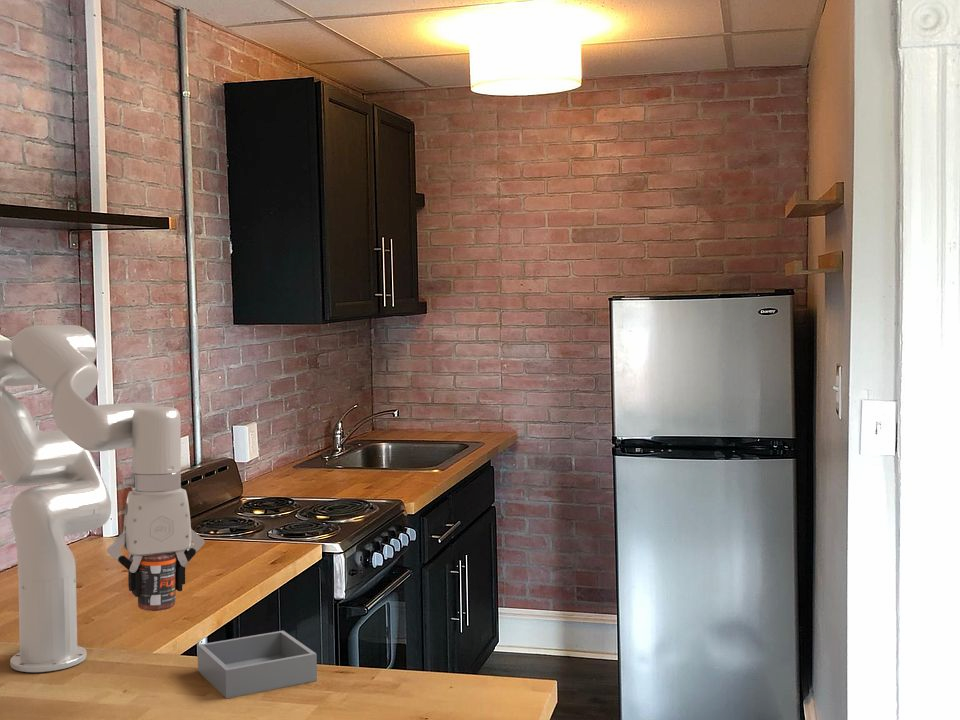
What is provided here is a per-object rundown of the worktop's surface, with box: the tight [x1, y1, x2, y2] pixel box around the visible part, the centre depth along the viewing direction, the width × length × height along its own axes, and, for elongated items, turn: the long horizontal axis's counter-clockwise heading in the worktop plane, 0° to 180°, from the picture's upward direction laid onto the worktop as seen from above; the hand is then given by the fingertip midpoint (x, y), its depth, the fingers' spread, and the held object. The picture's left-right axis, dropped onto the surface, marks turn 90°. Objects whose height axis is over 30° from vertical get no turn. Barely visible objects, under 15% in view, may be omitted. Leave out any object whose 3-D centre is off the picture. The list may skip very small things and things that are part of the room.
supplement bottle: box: [137, 552, 177, 612], centre depth 169 cm, size 6×6×11 cm
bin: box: [197, 630, 318, 699], centre depth 177 cm, size 16×16×5 cm
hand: (157, 591), depth 169 cm, fingers closed on supplement bottle, 6 cm apart
